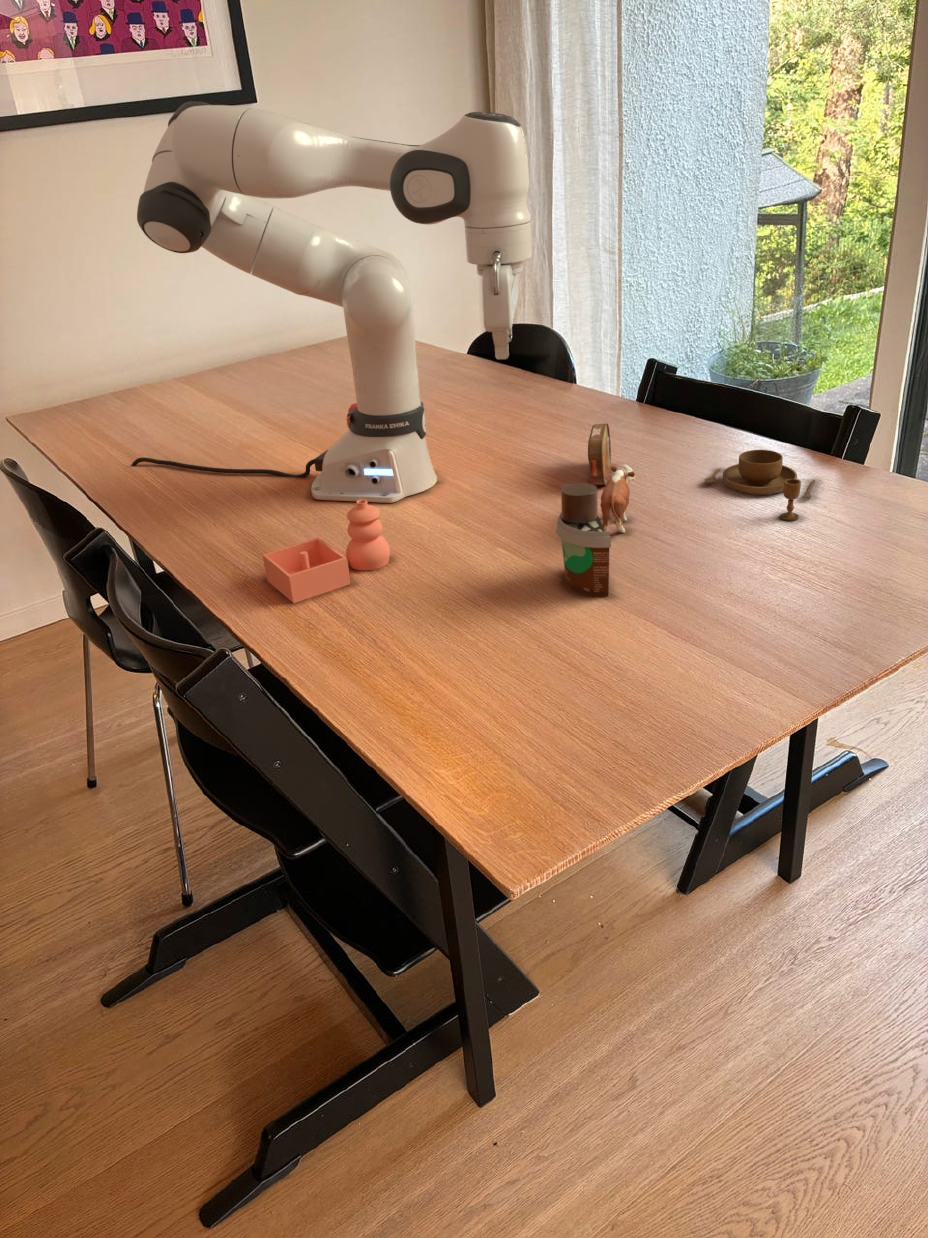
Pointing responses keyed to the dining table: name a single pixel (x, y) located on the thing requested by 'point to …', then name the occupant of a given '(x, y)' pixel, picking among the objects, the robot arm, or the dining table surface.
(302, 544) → the pottery
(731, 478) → the place setting
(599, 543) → the food container
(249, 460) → the dining table surface
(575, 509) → the brown cylinder
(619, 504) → the bull figurine
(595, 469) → the tin
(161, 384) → the dining table surface
